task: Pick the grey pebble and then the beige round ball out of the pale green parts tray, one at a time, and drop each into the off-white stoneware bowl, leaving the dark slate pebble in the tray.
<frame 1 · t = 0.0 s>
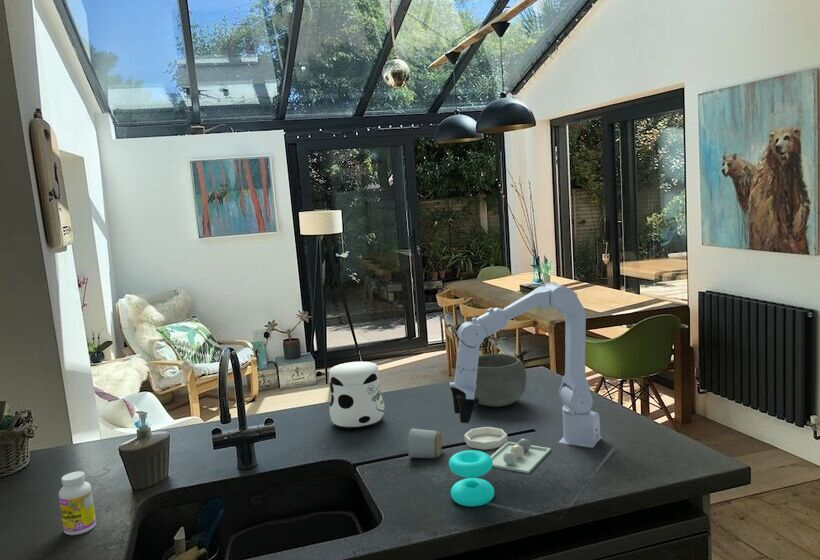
hand: (461, 417, 170), 11 cm above the worktop, tool pointing down, fingers open, 7 cm apart
pebble slate: (524, 451, 170), point 1 cm above the worktop, touching parts tray
beige round ball: (517, 457, 166), point 1 cm above the worktop, touching parts tray
parts tray: (517, 459, 166), on the worktop
supplement bottle: (80, 529, 147), on the worktop
ceramic mug: (426, 455, 174), on the worktop
bowl: (495, 405, 211), on the worktop
milk container: (358, 423, 203), on the worktop
donuts: (472, 499, 148), on the worktop
stoneware bowl: (486, 443, 179), on the worktop
pebble grey: (510, 464, 163), point 1 cm above the worktop, touching parts tray
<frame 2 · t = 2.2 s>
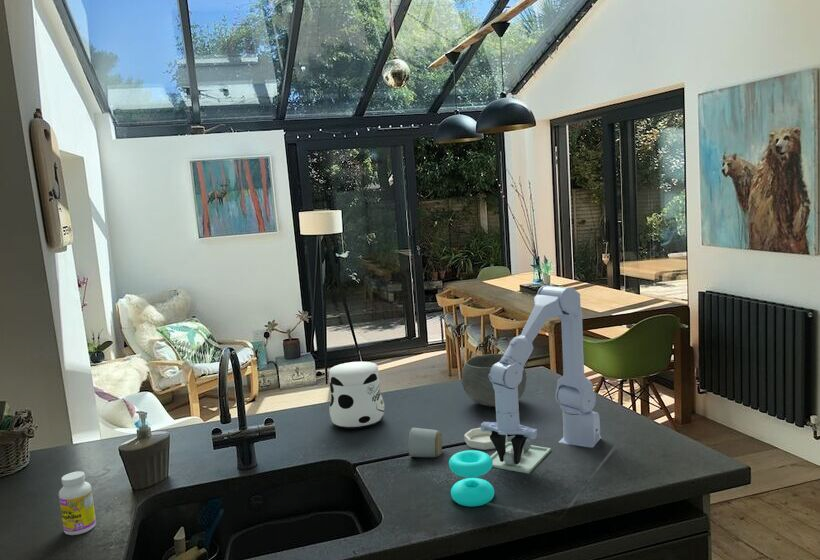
hand: (510, 461, 162), 1 cm above the worktop, tool pointing down, fingers closed on pebble grey, 3 cm apart
pebble grey: (510, 464, 163), point 1 cm above the worktop, touching gripper, parts tray
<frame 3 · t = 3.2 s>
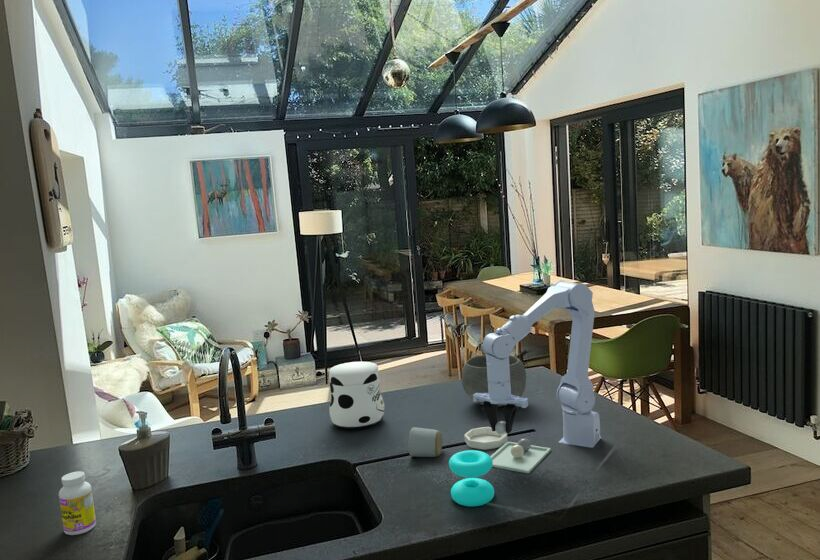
hand: (501, 430, 166), 8 cm above the worktop, tool pointing down, fingers closed on pebble grey, 3 cm apart
pebble grey: (502, 434, 166), point 7 cm above the worktop, touching gripper
everything else where it was.
when the fingers open (4 cm above the worktop, at t = 4.7 s): pebble grey drops 3 cm, resting on stoneware bowl.
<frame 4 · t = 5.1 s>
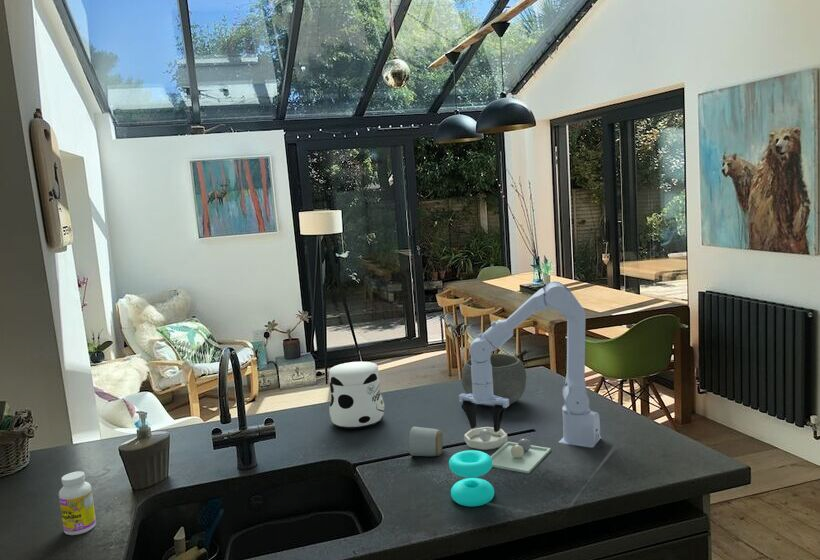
hand: (485, 428, 178), 4 cm above the worktop, tool pointing down, fingers open, 7 cm apart
pebble grey: (485, 441, 179), point 1 cm above the worktop, touching stoneware bowl
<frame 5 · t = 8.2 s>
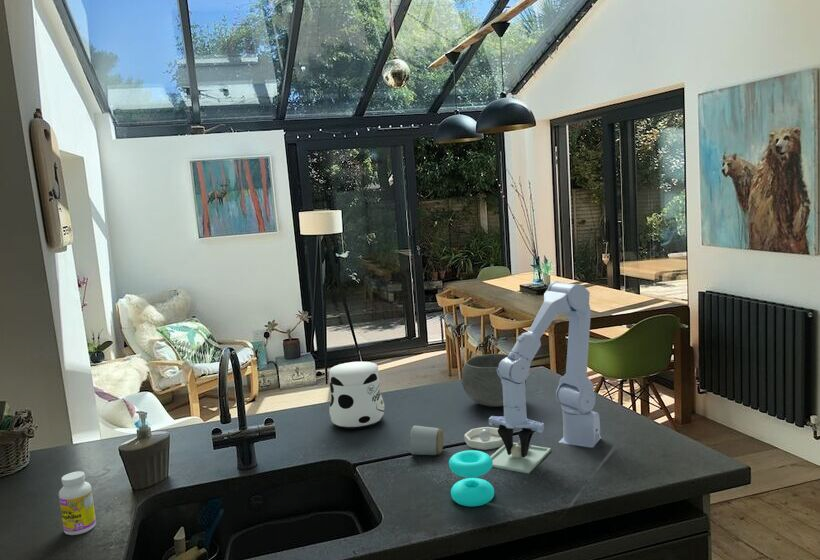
hand: (517, 454, 166), 1 cm above the worktop, tool pointing down, fingers closed on beige round ball, 3 cm apart
beige round ball: (517, 457, 166), point 1 cm above the worktop, touching gripper, parts tray
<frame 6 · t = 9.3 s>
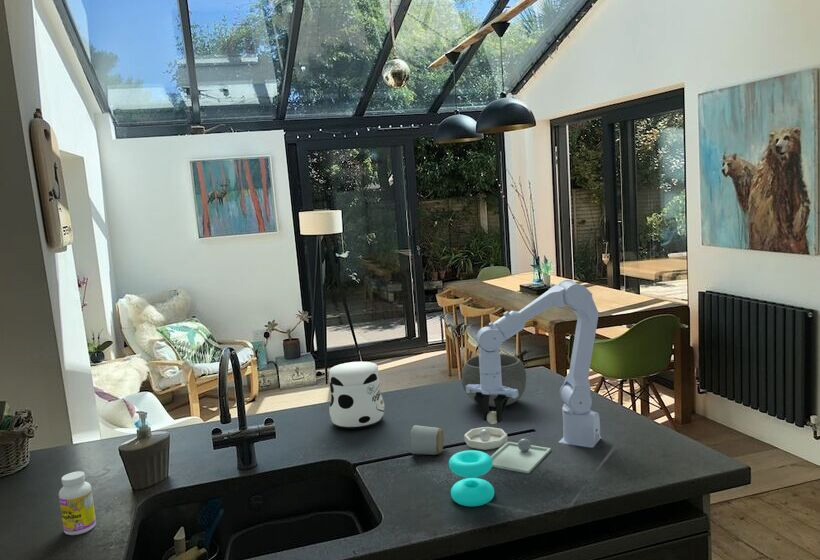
hand: (493, 420, 174), 8 cm above the worktop, tool pointing down, fingers closed on beige round ball, 3 cm apart
beige round ball: (493, 423, 174), point 7 cm above the worktop, touching gripper
when the fingers open (4 cm above the worktop, at t = 10.5 s): beige round ball drops 1 cm and tips over, resting on stoneware bowl.
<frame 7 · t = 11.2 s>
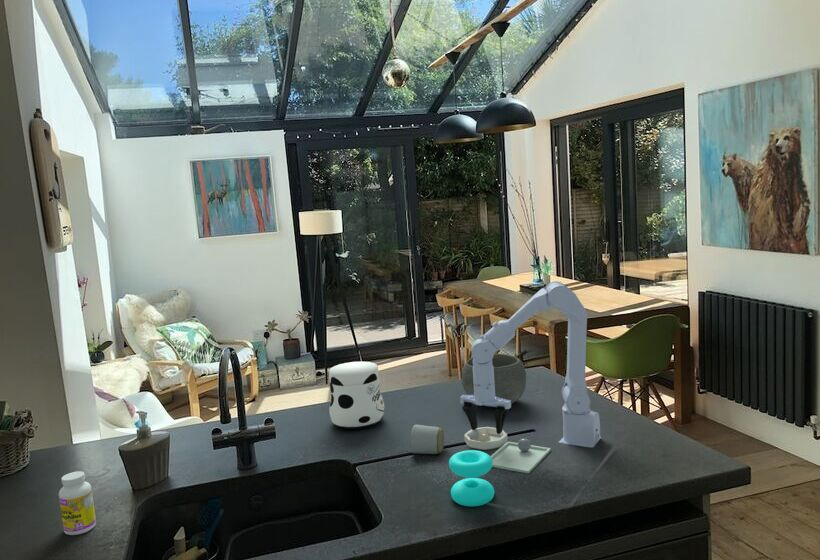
hand: (486, 430, 177), 4 cm above the worktop, tool pointing down, fingers open, 7 cm apart
beige round ball: (479, 438, 177), point 2 cm above the worktop, tilted 90°, touching stoneware bowl
pebble grey: (481, 434, 179), point 2 cm above the worktop, tilted 94°, touching stoneware bowl
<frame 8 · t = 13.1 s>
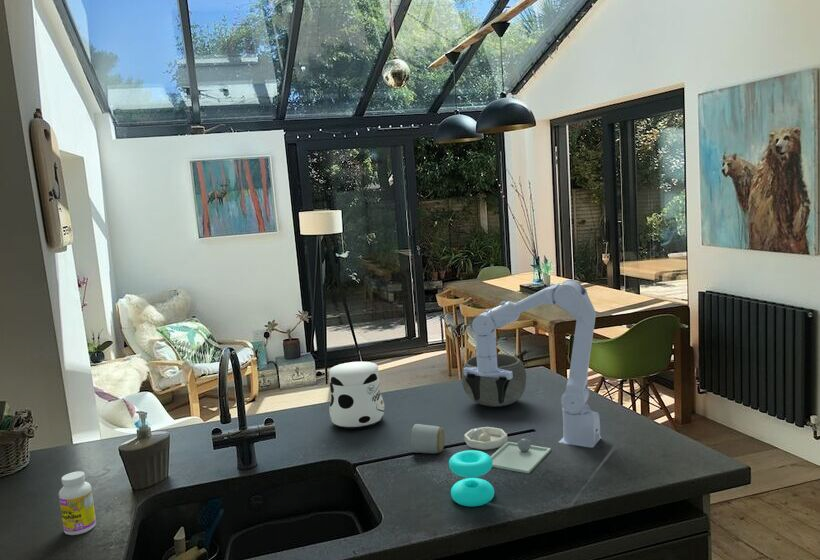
hand: (489, 401, 184), 10 cm above the worktop, tool pointing down, fingers open, 7 cm apart
pebble grey: (483, 436, 179), point 2 cm above the worktop, tilted 74°, touching stoneware bowl
at the end: pebble grey 0.8 cm from the stoneware bowl (horizontally); beige round ball 2.6 cm from the stoneware bowl (horizontally); pebble grey point 1.8 cm above the worktop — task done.
